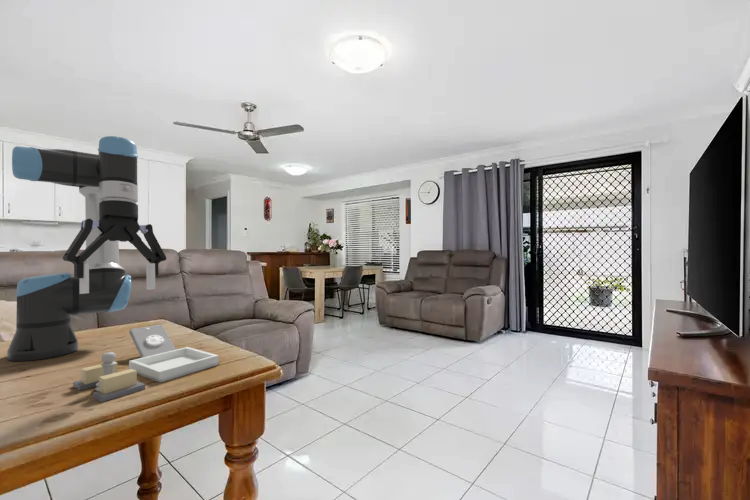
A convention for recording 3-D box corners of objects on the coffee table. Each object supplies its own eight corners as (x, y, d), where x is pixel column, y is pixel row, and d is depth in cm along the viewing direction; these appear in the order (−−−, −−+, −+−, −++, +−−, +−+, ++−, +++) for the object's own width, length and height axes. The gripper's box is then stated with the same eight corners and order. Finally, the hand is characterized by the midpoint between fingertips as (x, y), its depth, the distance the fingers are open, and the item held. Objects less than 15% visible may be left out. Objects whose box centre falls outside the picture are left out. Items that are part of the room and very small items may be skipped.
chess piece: (92, 388, 76) (92, 352, 76) (117, 382, 80) (117, 347, 80) (98, 394, 74) (98, 356, 74) (125, 387, 77) (125, 351, 77)
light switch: (146, 359, 92) (130, 326, 100) (142, 376, 94) (126, 342, 102) (180, 351, 98) (162, 321, 106) (176, 367, 100) (159, 337, 108)
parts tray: (129, 370, 88) (129, 360, 88) (187, 355, 100) (187, 346, 100) (159, 382, 80) (159, 371, 80) (218, 364, 92) (218, 355, 92)
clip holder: (72, 386, 77) (73, 368, 77) (114, 375, 84) (114, 359, 84) (101, 402, 69) (101, 382, 69) (145, 388, 76) (145, 370, 76)
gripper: (57, 190, 70) (56, 295, 68) (179, 207, 92) (181, 287, 90) (43, 196, 74) (43, 296, 72) (164, 211, 95) (166, 288, 94)
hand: (120, 291), depth 81 cm, fingers open, 13 cm apart
